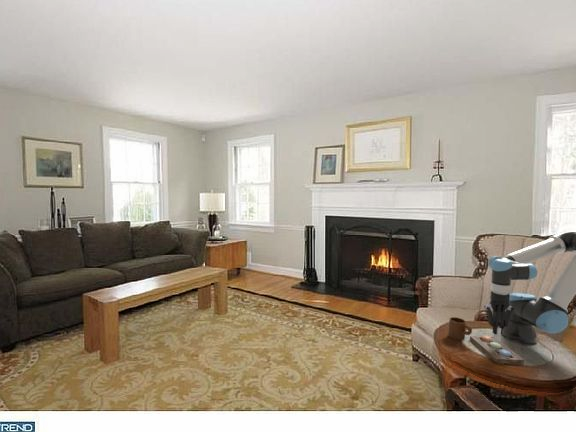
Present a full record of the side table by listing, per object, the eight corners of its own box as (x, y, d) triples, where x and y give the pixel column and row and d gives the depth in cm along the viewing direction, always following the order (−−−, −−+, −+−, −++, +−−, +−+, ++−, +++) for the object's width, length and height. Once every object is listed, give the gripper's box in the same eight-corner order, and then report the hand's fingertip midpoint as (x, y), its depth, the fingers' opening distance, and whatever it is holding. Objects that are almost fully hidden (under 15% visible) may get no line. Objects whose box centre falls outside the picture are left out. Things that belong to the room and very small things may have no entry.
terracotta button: (488, 341, 164) (488, 335, 163) (493, 345, 159) (494, 339, 159) (479, 340, 164) (479, 335, 163) (484, 345, 159) (484, 339, 159)
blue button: (506, 355, 150) (506, 349, 149) (512, 360, 145) (513, 354, 145) (496, 355, 150) (497, 349, 149) (502, 360, 145) (503, 354, 145)
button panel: (493, 340, 165) (493, 336, 165) (523, 364, 143) (524, 359, 143) (469, 339, 166) (470, 336, 165) (496, 363, 144) (496, 358, 144)
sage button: (496, 348, 157) (497, 342, 156) (502, 352, 152) (503, 346, 152) (487, 347, 157) (488, 341, 156) (493, 352, 152) (493, 346, 152)
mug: (475, 343, 162) (477, 325, 161) (464, 346, 159) (466, 327, 158) (455, 333, 173) (456, 316, 172) (444, 335, 170) (446, 318, 169)
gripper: (509, 289, 155) (505, 336, 158) (481, 289, 156) (478, 336, 158) (519, 295, 148) (516, 344, 150) (491, 294, 148) (487, 344, 150)
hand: (496, 340), depth 154 cm, fingers closed
